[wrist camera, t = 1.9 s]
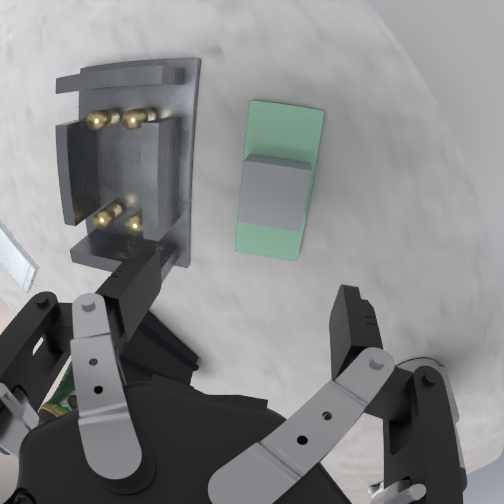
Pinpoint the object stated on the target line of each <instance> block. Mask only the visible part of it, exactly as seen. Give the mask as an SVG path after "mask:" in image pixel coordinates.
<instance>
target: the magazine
mask: <svg viewBox="0 0 504 504" xmlns="http://www.w3.org/2000/svg"><path fill="white" fill-rule="evenodd" d="M116 346H117V350H118V354H119V358H120V362H121V366H122V370H123V374H124V377H125V381H126V384H130V383H134V382H143V381H149V382H150V380H151V378H152V376H153V374H155V375H159V376H162V377H166V378H169V379H173V380H176V381H180V382H182V383H184V384H186V385H188V386H190V382H191V377H192V373H193V371H196V370H198V368H199V366H198V365H197V364H196V362H197V359H198V358H197V356H196V355H194V354H193V353H192V352H191V351H190V350H189V349H188V348H187V347H186V346H185V345H183V344H182V343H181V342H180V341H179V340H178V339H177V338H176V337H175V336H174V335H173V334H172V333H171V332H170V331H168V330H167V329H166V328H165V327H164V326H163V325H162V324H161V323H160V322H159V321H158V320H157V319H156V318H155V317H154V316H153V315H152V314H151V313H150V312H149V311H147V313H146V314H145V316H144V318H143V319H142V321H141V322H140V324H139V326H138V327H137V329H136V330H135V332H134V334H133V335H132V337H131V339H130V340H129V342H126V341H122V340H118V342H117V343H116ZM190 387H192V386H190ZM192 388H194V387H192Z"/></svg>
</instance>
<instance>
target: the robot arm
mask: <svg viewBox="0 0 504 504" xmlns="http://www.w3.org/2000/svg"><path fill="white" fill-rule="evenodd" d="M161 284H162V277H161V263H160V254H159V252H155V251H150V250H145V249H143V250H141V251H140V252H139V253H138V254H137V256H136V257H135V258H130V259H128V260H126V261H124V262H122V263H121V264H120V265H119V266H118V267H117V269H116V271H114V272H113V273H112V274H111V276H109V277H108V279H107V280H106V281H105V282H104V283H103V284H102V285H101V286H100V288H99V289H98V290H97V291H96V292H95V293H87V294H84V295H81V296H79V297H78V298H77V299H76V300H75V301H74V302H73V303H58V300H57V297H56V295H55V294H54V293H52V292H41V293H38V294H36V295H35V296H33V297H32V298H31V299H30V300H29V302H28V303H27V304H26V305H25V306H24V307H23V308H22V310H21V311H20V312H19V313H18V314H17V315H16V317H15V318H14V319H13V320H12V321H11V323H10V324H9V325H8V326H7V328H6V329H5V330H4V331H3V332H2V334H1V335H0V452H1V453H3V454H6V455H12V456H14V457H16V458H17V459H18V460H19V475H18V482H17V487H16V489H15V491H14V493H13V495H12V496H11V497H10V498H9V499H8V500H7V501H6V502H5V503H3V504H352V503H351V502H350V501H349V499H348V498H347V497H346V496H345V494H344V493H343V492H342V491H341V489H340V488H339V487H338V485H337V484H336V483H335V481H334V480H333V479H332V478H331V476H330V475H329V474H328V472H327V471H326V470H325V468H324V467H323V466H322V464H321V463H320V462H321V461H322V460H323V459H324V458H325V457H326V456H327V454H328V453H329V452H330V451H331V450H332V449H333V448H334V447H335V446H336V444H337V443H338V442H339V441H340V440H341V439H342V438H343V437H344V435H345V434H346V433H347V432H348V431H349V430H350V428H351V427H352V426H353V425H354V424H355V422H356V421H357V420H358V419H359V418H360V416H361V415H362V414H363V413H367V414H370V415H373V416H376V417H378V418H381V419H383V437H384V490H382V491H381V492H379V493H377V494H376V495H375V496H374V497H373V499H372V500H371V503H370V504H463V494H462V493H463V491H464V490H465V489H466V487H467V477H466V470H465V465H464V459H463V454H462V449H461V445H460V440H459V436H458V432H457V427H456V422H458V420H459V413H458V409H457V405H456V402H455V399H454V395H453V392H452V389H451V385H450V382H449V379H448V376H447V373H446V370H445V367H444V366H439V365H438V364H437V362H435V361H434V360H431V359H425V358H422V359H414V360H410V361H407V362H405V363H402V364H400V365H398V366H395V364H394V360H393V358H392V357H391V355H390V354H389V353H387V352H386V351H384V350H383V345H382V341H381V336H380V332H379V328H378V326H377V325H378V323H377V319H376V315H375V311H374V308H373V307H372V305H371V304H370V303H369V301H368V300H363V299H361V296H360V292H359V288H358V287H355V286H348V285H341V286H340V288H339V291H338V294H337V297H336V300H335V303H334V306H333V308H332V311H331V315H330V321H329V330H330V348H331V372H332V380H330V381H329V382H328V383H327V384H326V385H325V386H324V387H322V388H321V389H320V390H319V391H318V392H317V393H316V394H315V395H314V396H313V397H312V398H311V399H310V400H309V401H308V402H307V403H305V404H304V405H303V406H302V407H301V408H300V409H299V410H298V411H297V412H295V413H294V414H293V415H292V416H291V417H290V418H289V419H286V418H284V417H283V416H281V415H280V414H278V413H277V412H275V411H273V410H271V409H268V408H267V403H268V400H265V399H259V398H253V397H248V396H242V395H207V394H204V393H202V392H200V391H198V390H196V389H194V388H192V387H190V386H188V385H186V384H184V383H182V382H180V381H176V380H173V379H169V378H166V377H162V376H159V375H155V374H153V376H152V378H151V380H150V382H149V381H143V382H134V383H130V384H126V381H125V377H124V374H123V370H122V366H121V362H120V358H119V354H118V350H117V346H116V343H117V342H118V340H122V341H126V342H129V340H130V339H131V337H132V335H133V334H134V332H135V330H136V329H137V327H138V326H139V324H140V322H141V321H142V319H143V318H144V316H145V314H146V313H147V311H148V310H149V308H150V306H151V305H152V303H153V302H154V300H155V299H156V297H157V296H158V294H159V292H160V289H161ZM41 337H42V338H43V340H44V341H43V342H42V344H41V345H40V347H39V348H38V350H37V351H36V352H35V354H34V355H33V349H34V347H35V345H36V344H37V342H38V341H39V340H40V338H41ZM70 355H71V357H72V367H73V376H74V383H75V391H76V397H77V404H78V408H76V409H74V410H72V411H69V412H67V413H65V414H63V415H61V416H59V417H56V418H54V419H52V420H50V421H47V422H45V423H43V424H41V425H38V422H39V414H38V410H39V408H40V406H41V404H42V402H43V400H44V399H45V397H46V395H47V393H48V392H49V390H50V388H51V386H52V384H53V383H54V381H55V380H56V378H57V376H58V374H59V373H60V371H61V370H62V368H63V366H64V365H65V363H66V361H67V360H68V358H69V356H70Z"/></svg>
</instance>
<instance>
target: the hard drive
mask: <svg viewBox="0 0 504 504" xmlns="http://www.w3.org/2000/svg"><path fill="white" fill-rule="evenodd" d="M0 262H1V264H2V265H3V266H4V267H5V269H6V270H7V271H8V272H9V273H10V275H11V276H12V277H13V278H14V279H15V281H16V282H17V283H18V284H19V285H20V286H21V287H22V289H23V290H24V291H25V292H26V293H28V292H29V291H30V289H31V287H32V284H33V281H34V279H35V276H36V274H37V271H38V269H39V266H38V265H37V264H36V263H35V262H34V261H33V259H32V258H31V257H30V256H29V255H28V254H27V252H26V251H25V250H24V249H23V248H22V247H21V245H20V244H19V243H18V242H17V241H16V239H15V238H14V237H13V236H12V234H11V233H10V232H9V231H8V229H7V228H6V227H5V225H4V224H3V223H2V222H1V220H0Z"/></svg>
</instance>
